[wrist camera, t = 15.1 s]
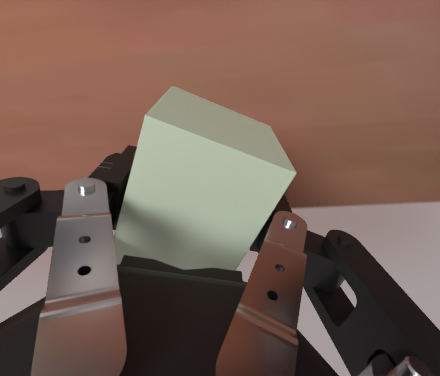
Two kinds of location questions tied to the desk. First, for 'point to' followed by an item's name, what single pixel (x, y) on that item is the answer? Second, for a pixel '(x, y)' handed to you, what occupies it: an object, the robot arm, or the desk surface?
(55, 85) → the desk surface
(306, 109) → the desk surface
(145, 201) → the sage brick
